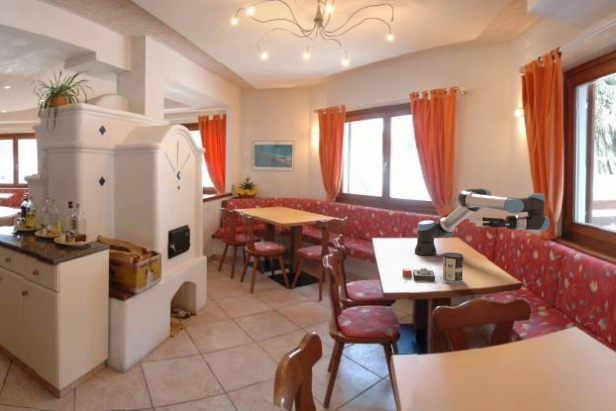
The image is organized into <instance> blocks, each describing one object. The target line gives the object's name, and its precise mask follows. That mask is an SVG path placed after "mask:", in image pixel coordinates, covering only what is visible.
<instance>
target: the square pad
mask: <svg viewBox="0 0 616 411" xmlns="http://www.w3.org/2000/svg"><path fill="white" fill-rule="evenodd" d="M438 277H439V279H440V281H441V283H442V284H446V285H447V284H451V285H467V282H466V281H465V280H464V278H462V280H463V281H462V282H448V281H445V280H443V275H438Z"/></svg>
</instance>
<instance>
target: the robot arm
mask: <svg viewBox="0 0 616 411" xmlns="http://www.w3.org/2000/svg"><path fill="white" fill-rule="evenodd" d="M457 203H458V204H459V205H458V206H457V207H456V208H455V209H454V210H453V211H452V212H451V213H449V215H447V216H446V217H441V219H439V221H434V220H422V221H419V222H418V223H417V228H416V229H417V232H416V233H417V234H416V235H417V236H416V238H417V239H416V240H417V241H416V245H415V248H414V254H415V255H418V256H422V257H423V256H424V257H425V256H427V257H432V256H436V255H437V253H438V252H437V248H436V244H435V239H440V238H441V239H442V238H444V239H445V238H449V237H451V236H453V235H454V233H455V229H456V226H458V225H459V224H460V223H462V222H463V221H464V220H465V219H467V217H469V216H470V215H471V214H472V213H476V212H478V211H480V210H481V209H489V210H496V211H497V210H498V211H505V212H507V213H509V214H519V213H520V214H521V213H527V215H507V216H506V217H505V219H504V218H501V217H487V216H486V217H484V216H483V217H469V223H471V224H472V223H474V224H475V227H476V228H477V227H479V228H480V227H483V228H486V227H488V228H489V227H490V228H494V229H495V228H506V229H507V230H511V231H512V230H519V231H523V230H524V231H525V230H526V231H527V230H528V231H546V230H548V229H549V227H550V222H551V221H550V218H549V217H548V216H546V215H545V209H546V208H545V207H546V196H545V194H544V193H538V192H537V193H533V192H532V193H529V194H528V196H527V197H522V198H521V197H519V198H518V197H510V196H498V195H493V194H492V192H491V191H490V190H489V189H487V188H483V187H481V188H467V189H463V190H461V191H460V192H459V193H458V195H457Z"/></svg>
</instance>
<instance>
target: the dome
mask: <svg viewBox="0 0 616 411" xmlns="http://www.w3.org/2000/svg"><path fill="white" fill-rule="evenodd" d="M419 270H420V271H419V274H426V275H429V272H428V270H429V269H427V267H421V268H420V269H419Z"/></svg>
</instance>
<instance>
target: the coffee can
mask: <svg viewBox="0 0 616 411" xmlns="http://www.w3.org/2000/svg"><path fill="white" fill-rule="evenodd" d="M442 256H443V258H442V276H443V280H445V281H448V282H462V281H463V280H462V278H463V274H464V273H463V270H464V269H463V268H464V255H463V254H462V253H459V252H444V253H443V254H442ZM463 279H464V278H463Z"/></svg>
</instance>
